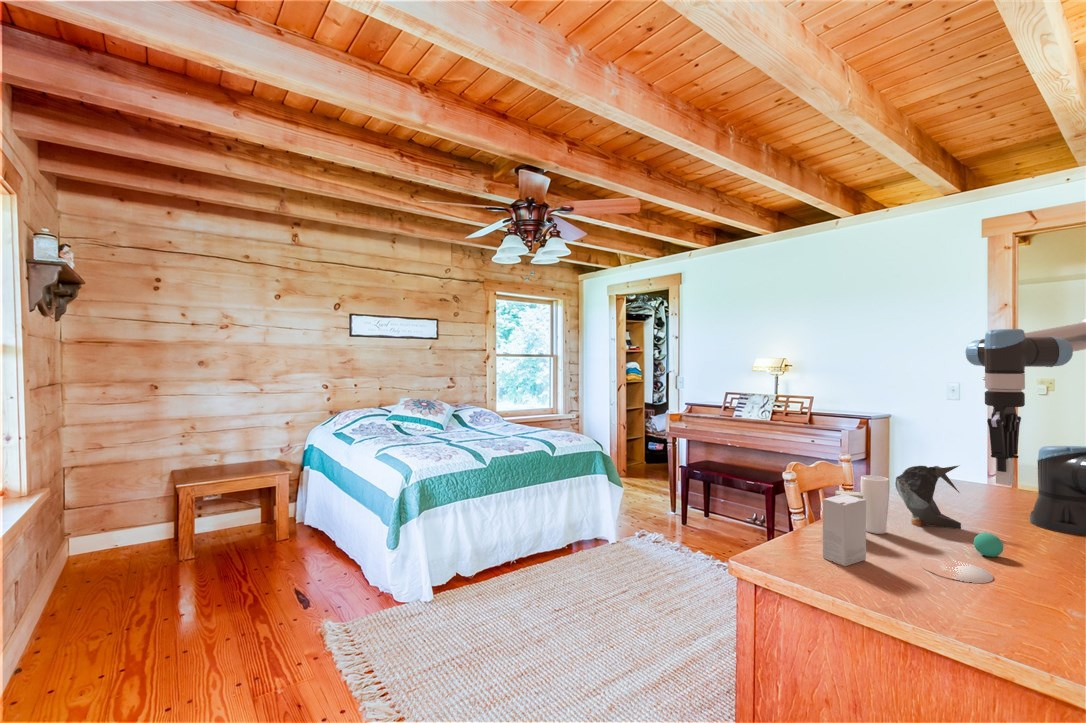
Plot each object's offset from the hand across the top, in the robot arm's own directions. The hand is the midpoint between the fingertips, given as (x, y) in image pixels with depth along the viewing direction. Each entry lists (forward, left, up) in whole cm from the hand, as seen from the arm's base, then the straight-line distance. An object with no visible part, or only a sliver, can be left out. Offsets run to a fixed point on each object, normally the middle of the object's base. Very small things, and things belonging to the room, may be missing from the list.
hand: (1004, 483), depth 129 cm
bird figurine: (+5, -19, -17) cm, 26 cm away
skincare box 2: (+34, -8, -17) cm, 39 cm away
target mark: (+23, +13, -16) cm, 31 cm away
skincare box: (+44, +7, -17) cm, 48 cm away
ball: (+8, +5, -14) cm, 17 cm away
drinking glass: (+24, -13, -17) cm, 32 cm away
